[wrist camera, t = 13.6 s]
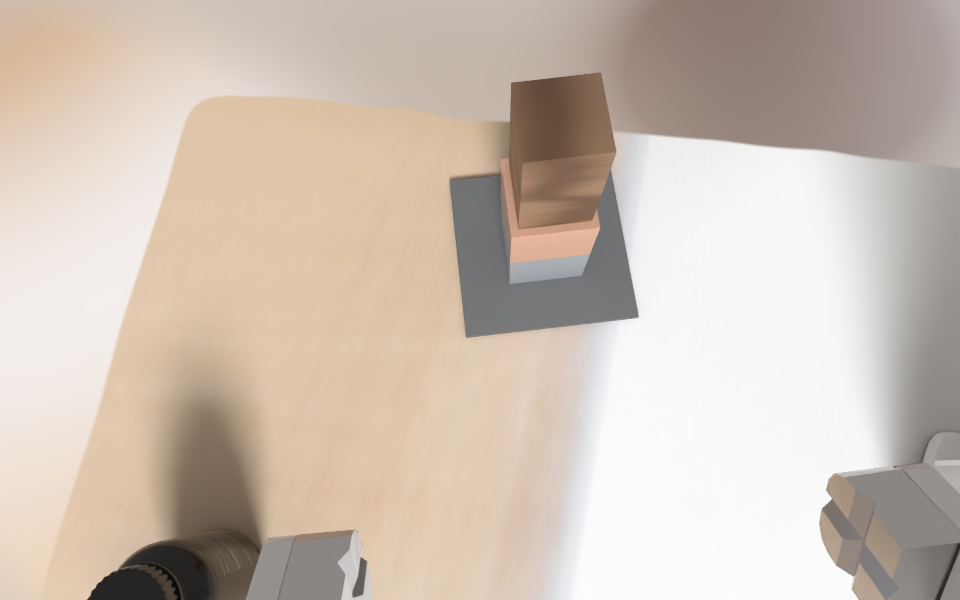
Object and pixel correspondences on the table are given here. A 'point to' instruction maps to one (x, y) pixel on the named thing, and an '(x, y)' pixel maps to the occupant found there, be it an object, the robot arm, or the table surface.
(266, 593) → the robot arm
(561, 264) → the tower bottom
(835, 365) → the table surface
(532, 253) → the tower top
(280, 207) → the table surface
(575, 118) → the walnut post
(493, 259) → the rubber mat
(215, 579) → the supplement bottle
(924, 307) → the table surface
